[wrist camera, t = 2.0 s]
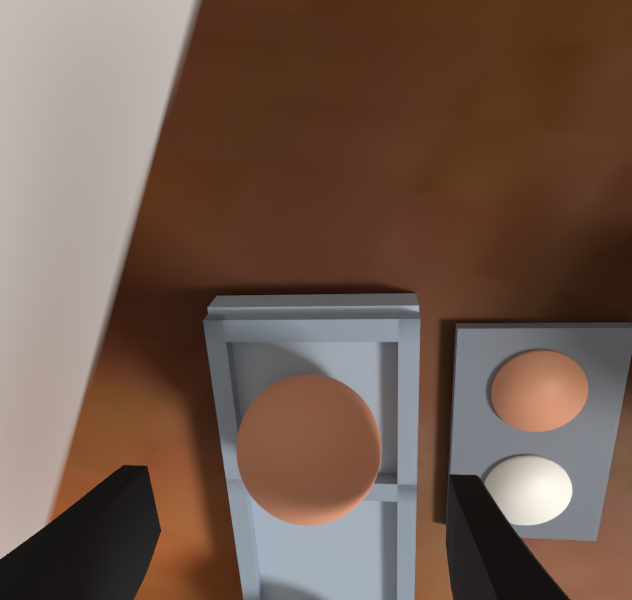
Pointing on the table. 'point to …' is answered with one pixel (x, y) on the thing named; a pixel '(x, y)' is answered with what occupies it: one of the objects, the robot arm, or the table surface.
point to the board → (381, 397)
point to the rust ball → (308, 449)
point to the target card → (540, 419)
